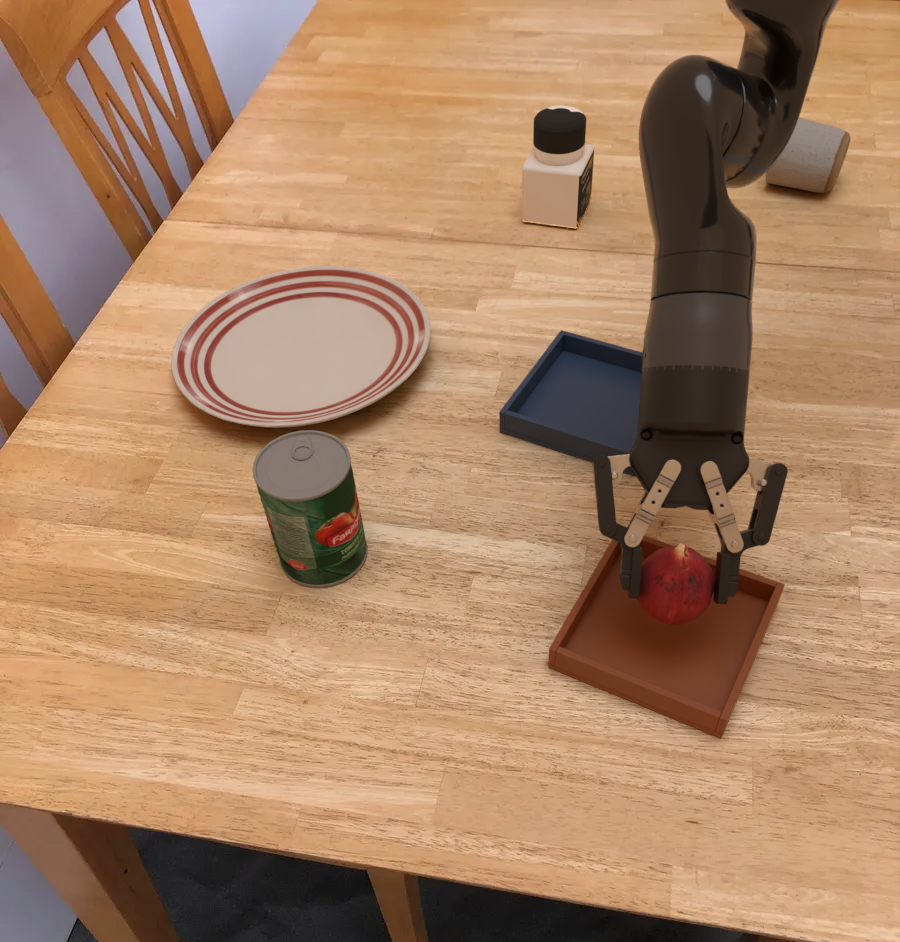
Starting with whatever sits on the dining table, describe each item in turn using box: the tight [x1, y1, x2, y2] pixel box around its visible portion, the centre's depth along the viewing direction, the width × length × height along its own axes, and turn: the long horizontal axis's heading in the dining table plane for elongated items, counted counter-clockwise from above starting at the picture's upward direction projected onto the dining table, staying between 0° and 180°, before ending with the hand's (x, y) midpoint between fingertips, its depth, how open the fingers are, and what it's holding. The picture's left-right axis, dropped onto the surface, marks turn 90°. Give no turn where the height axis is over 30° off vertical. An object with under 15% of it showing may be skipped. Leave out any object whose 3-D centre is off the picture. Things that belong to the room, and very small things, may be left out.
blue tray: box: [498, 329, 643, 477], centre depth 91 cm, size 14×14×3 cm
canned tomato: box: [252, 429, 369, 589], centre depth 78 cm, size 8×8×11 cm
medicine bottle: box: [521, 105, 595, 228], centre depth 110 cm, size 7×7×12 cm
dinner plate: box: [170, 265, 432, 429], centre depth 98 cm, size 28×27×3 cm
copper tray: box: [547, 535, 785, 739], centre depth 74 cm, size 14×14×3 cm
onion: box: [638, 542, 714, 625], centre depth 70 cm, size 6×6×8 cm
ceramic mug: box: [765, 117, 851, 193], centre depth 113 cm, size 11×8×8 cm
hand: (676, 599), depth 68 cm, fingers closed on onion, 5 cm apart
